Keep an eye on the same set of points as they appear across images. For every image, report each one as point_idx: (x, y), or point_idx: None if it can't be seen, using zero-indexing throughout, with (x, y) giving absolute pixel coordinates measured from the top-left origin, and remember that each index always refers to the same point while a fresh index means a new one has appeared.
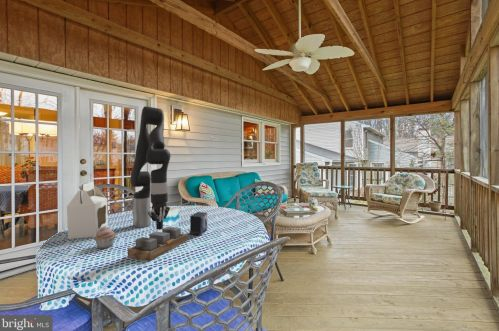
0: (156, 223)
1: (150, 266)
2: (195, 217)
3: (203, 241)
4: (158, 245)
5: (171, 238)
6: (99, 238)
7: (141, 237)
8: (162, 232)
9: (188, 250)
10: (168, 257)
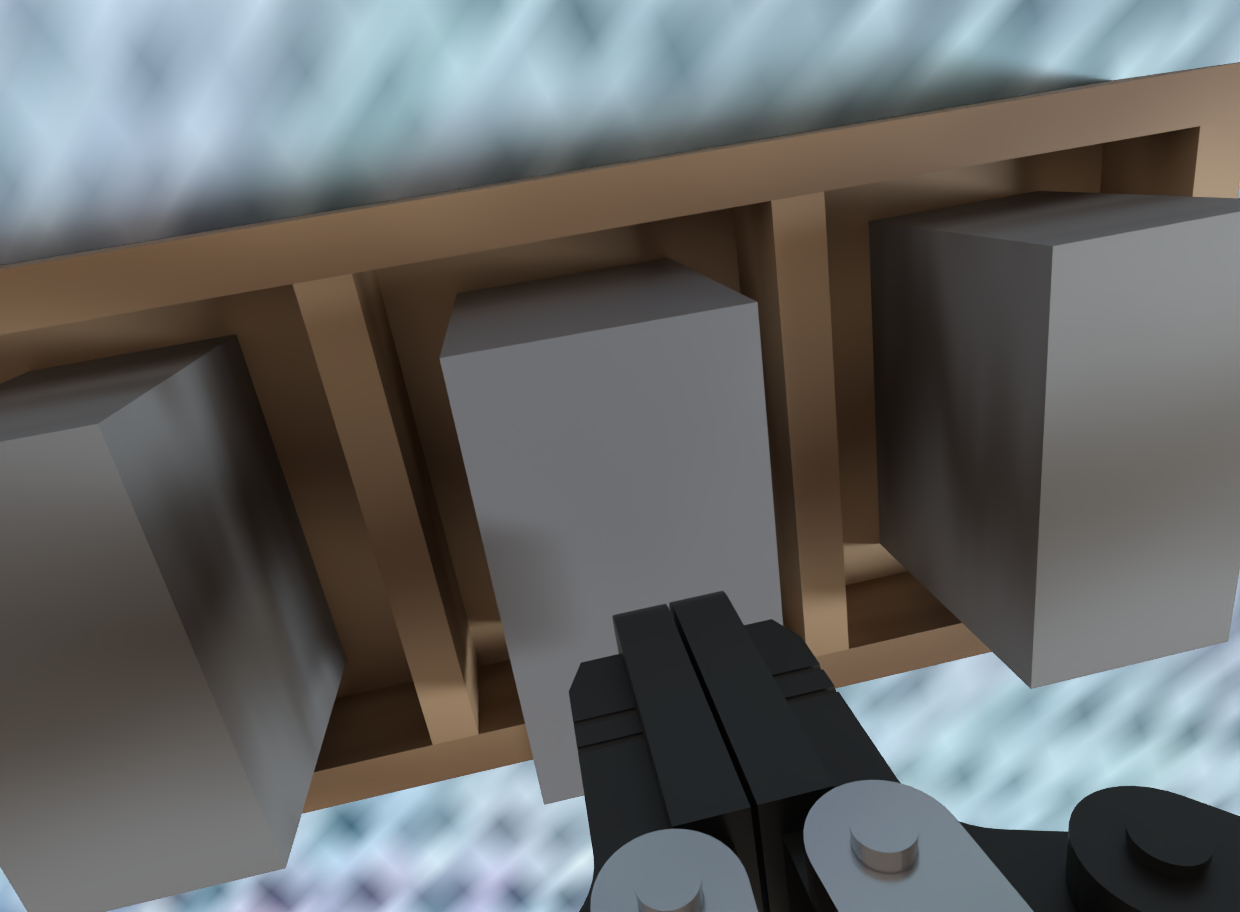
0: (591, 820)
1: (13, 897)
2: None
3: (1134, 743)
4: (411, 673)
5: (913, 479)
6: None
7: (50, 446)
8: (757, 560)
9: None
10: (395, 833)
